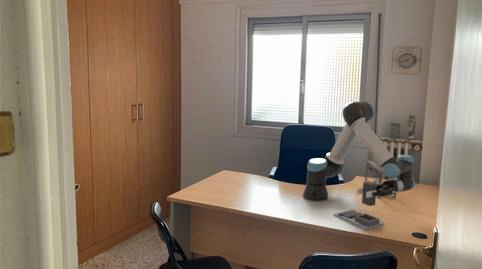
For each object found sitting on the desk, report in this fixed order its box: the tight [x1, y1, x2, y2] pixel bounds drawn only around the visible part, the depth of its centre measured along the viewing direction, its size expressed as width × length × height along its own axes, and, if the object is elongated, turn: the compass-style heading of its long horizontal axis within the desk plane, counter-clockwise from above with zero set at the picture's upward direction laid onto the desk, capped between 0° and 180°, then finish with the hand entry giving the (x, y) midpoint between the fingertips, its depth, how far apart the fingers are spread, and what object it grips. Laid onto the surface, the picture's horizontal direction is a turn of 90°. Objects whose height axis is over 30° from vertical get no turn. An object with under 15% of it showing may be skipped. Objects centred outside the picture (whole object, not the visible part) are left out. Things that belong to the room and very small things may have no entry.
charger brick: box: [361, 180, 377, 207], centre depth 186 cm, size 5×4×11 cm
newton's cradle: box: [364, 160, 397, 199], centre depth 240 cm, size 30×10×18 cm, turn 178°
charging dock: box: [333, 209, 385, 231], centre depth 193 cm, size 21×14×4 cm, turn 32°
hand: (362, 193), depth 183 cm, fingers closed on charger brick, 5 cm apart
